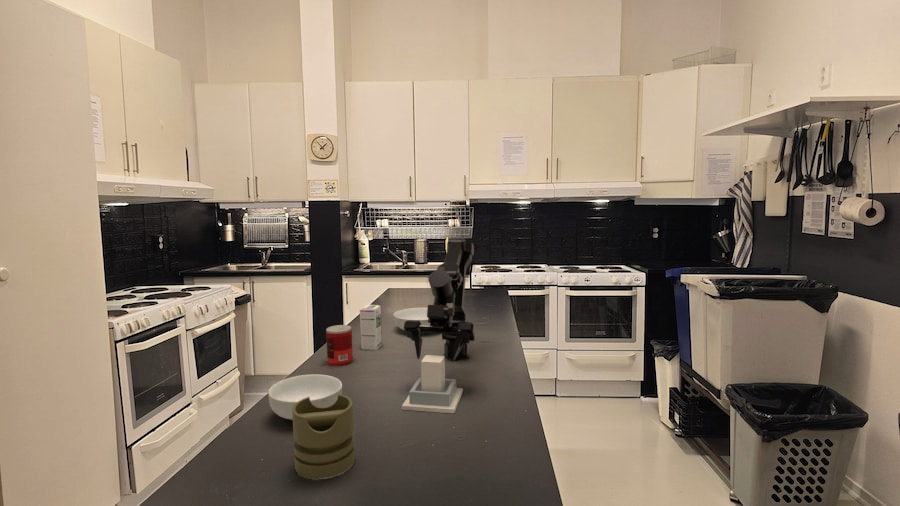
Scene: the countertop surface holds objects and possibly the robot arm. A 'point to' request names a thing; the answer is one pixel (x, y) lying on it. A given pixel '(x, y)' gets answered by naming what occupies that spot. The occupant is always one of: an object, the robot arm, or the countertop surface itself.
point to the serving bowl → (411, 316)
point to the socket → (434, 398)
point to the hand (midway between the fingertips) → (435, 359)
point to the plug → (433, 373)
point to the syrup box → (371, 327)
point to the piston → (323, 437)
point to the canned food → (339, 345)
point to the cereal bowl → (303, 392)
